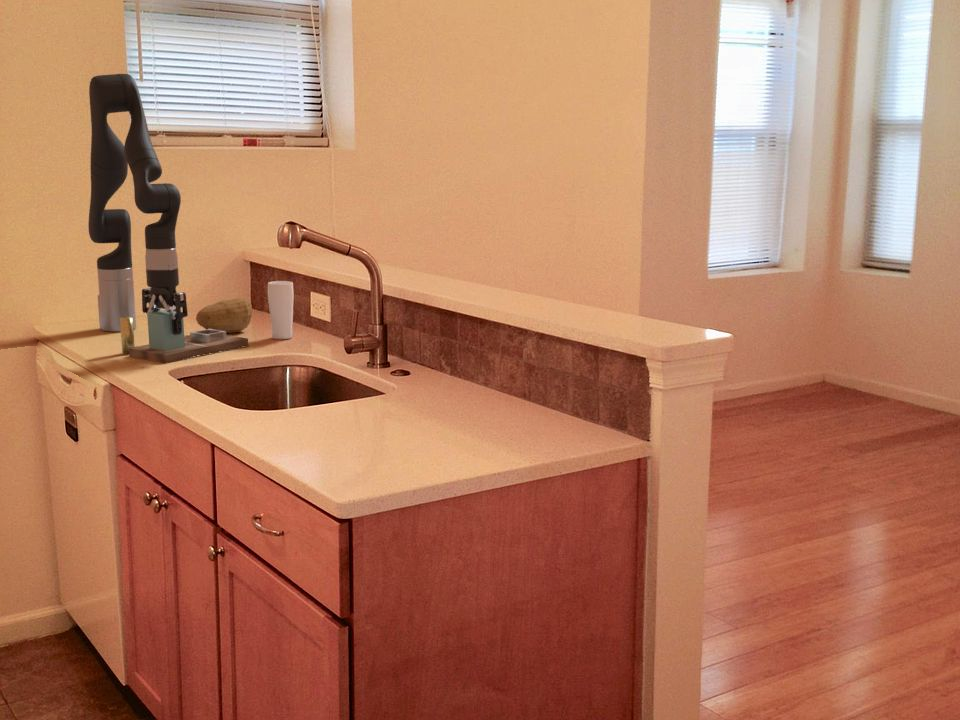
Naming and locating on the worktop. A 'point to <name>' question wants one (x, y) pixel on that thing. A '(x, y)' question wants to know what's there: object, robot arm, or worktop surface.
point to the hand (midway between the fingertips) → (165, 332)
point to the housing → (163, 332)
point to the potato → (226, 315)
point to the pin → (127, 334)
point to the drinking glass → (281, 308)
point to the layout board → (191, 346)
